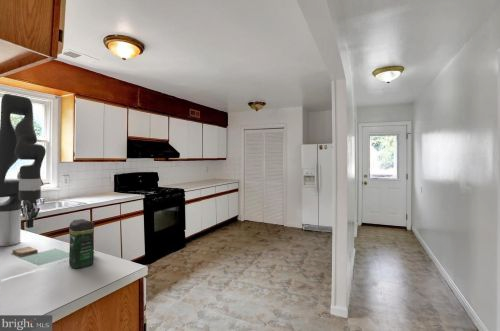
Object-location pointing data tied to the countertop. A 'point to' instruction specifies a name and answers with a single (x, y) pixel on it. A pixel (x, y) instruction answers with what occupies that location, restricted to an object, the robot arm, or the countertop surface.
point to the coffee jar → (81, 243)
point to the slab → (24, 251)
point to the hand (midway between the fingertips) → (29, 227)
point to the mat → (46, 256)
